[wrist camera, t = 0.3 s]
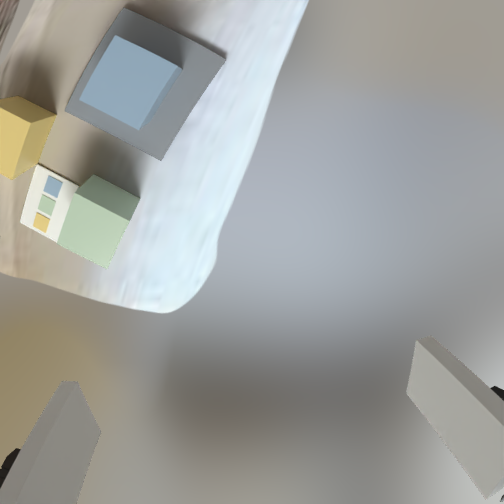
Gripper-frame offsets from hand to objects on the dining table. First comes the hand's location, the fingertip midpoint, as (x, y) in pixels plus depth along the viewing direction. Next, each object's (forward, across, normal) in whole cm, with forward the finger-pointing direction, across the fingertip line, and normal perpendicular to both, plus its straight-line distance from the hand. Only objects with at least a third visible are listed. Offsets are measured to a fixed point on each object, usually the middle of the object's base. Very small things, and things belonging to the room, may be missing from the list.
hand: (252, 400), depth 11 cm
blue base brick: (+21, -7, +18) cm, 29 cm away
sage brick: (+25, -13, +6) cm, 29 cm away
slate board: (+22, -7, +18) cm, 29 cm away
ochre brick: (+22, -21, +16) cm, 35 cm away
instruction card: (+24, -21, +7) cm, 33 cm away
